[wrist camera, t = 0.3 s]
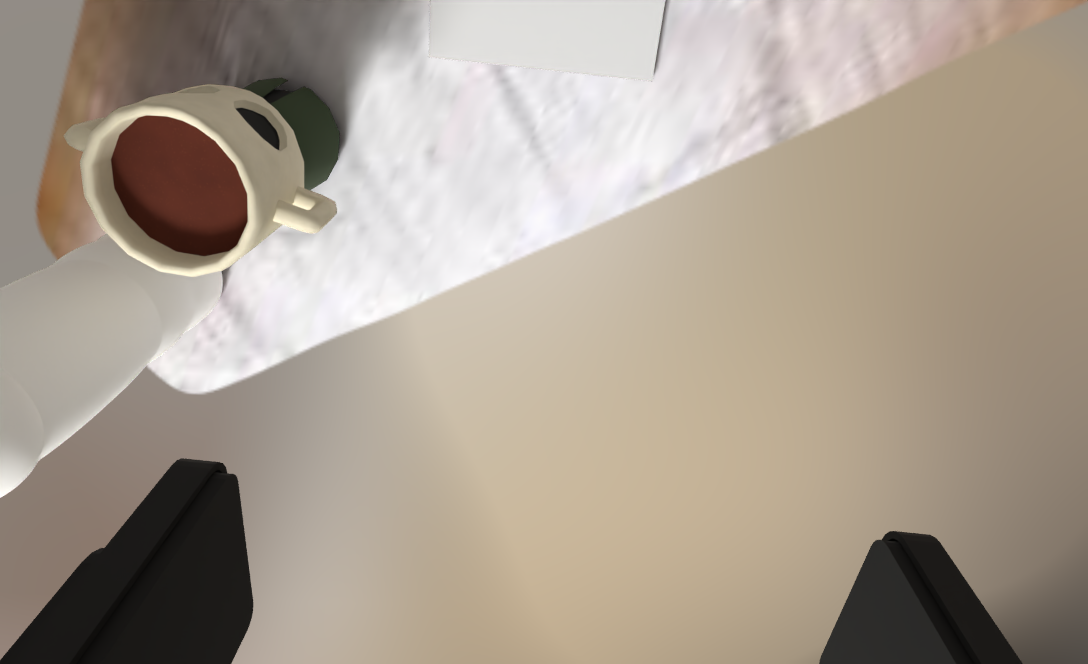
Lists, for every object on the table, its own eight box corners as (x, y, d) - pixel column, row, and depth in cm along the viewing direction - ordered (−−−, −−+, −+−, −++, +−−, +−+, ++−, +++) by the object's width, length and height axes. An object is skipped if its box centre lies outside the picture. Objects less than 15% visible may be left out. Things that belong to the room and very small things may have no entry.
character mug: (397, 111, 38) (324, 161, 26) (365, 225, 41) (286, 316, 29) (202, 33, 36) (30, 49, 24) (183, 158, 39) (23, 226, 27)
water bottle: (89, 237, 41) (-469, 520, 19) (184, 196, 40) (-292, 449, 18) (157, 333, 44) (-256, 677, 22) (249, 298, 43) (-91, 626, 20)
